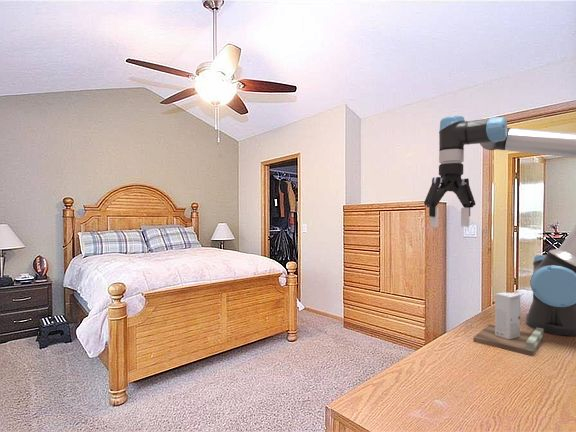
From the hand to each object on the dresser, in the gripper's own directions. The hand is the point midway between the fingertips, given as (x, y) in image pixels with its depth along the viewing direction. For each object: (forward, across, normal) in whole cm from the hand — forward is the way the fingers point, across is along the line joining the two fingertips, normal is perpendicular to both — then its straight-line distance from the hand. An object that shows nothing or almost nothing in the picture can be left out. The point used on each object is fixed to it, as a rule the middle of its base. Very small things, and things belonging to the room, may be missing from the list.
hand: (449, 226), depth 118 cm
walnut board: (+32, -2, +20) cm, 38 cm away
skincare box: (+31, -2, +20) cm, 36 cm away
